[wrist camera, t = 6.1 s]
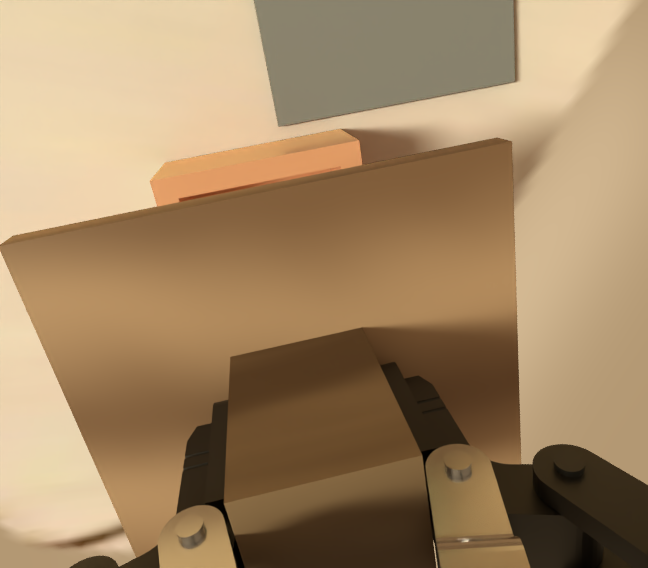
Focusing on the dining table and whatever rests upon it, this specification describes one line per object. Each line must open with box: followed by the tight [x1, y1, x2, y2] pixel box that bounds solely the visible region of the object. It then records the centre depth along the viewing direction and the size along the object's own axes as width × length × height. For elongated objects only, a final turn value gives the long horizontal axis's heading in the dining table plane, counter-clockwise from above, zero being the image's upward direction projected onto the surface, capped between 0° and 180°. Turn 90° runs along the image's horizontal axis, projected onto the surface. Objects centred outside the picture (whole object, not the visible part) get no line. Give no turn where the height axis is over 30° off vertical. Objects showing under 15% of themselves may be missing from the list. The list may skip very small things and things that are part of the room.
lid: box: [0, 138, 521, 568], centre depth 12 cm, size 12×12×6 cm
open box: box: [150, 129, 362, 207], centre depth 28 cm, size 10×10×5 cm
